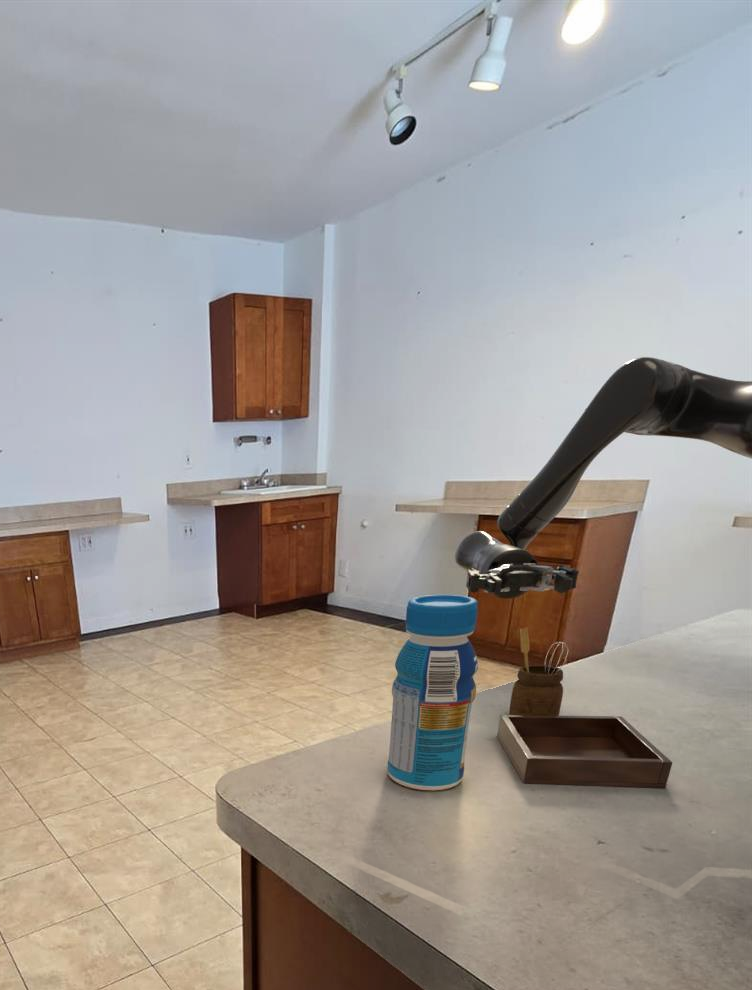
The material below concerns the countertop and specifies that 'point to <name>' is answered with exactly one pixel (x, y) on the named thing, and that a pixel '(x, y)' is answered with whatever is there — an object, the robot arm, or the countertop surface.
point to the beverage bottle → (433, 693)
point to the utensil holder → (537, 685)
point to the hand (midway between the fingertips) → (531, 586)
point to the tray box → (581, 751)
